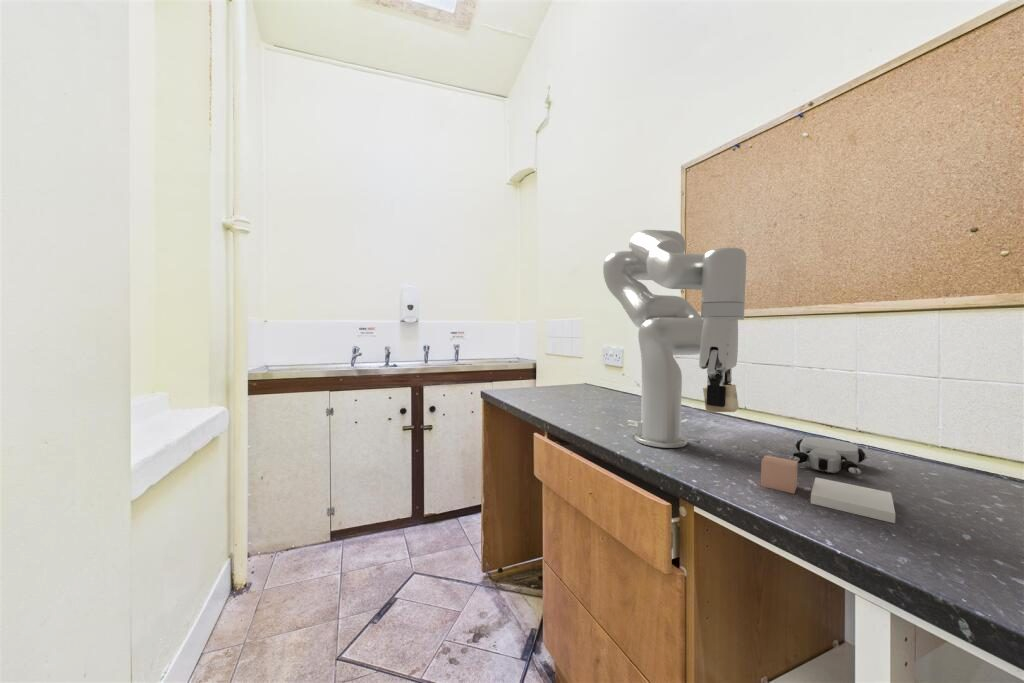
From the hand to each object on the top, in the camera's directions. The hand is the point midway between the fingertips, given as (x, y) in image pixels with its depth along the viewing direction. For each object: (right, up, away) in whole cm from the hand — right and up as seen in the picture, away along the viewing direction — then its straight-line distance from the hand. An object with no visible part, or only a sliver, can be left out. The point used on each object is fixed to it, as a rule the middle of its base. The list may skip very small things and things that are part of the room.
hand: (718, 403), depth 78 cm
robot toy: (+25, -14, +4) cm, 29 cm away
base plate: (+15, -14, -13) cm, 25 cm away
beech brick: (+1, -1, 0) cm, 2 cm away
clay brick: (+8, -14, -7) cm, 17 cm away
